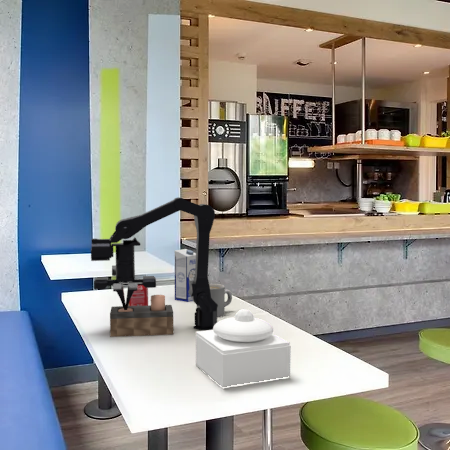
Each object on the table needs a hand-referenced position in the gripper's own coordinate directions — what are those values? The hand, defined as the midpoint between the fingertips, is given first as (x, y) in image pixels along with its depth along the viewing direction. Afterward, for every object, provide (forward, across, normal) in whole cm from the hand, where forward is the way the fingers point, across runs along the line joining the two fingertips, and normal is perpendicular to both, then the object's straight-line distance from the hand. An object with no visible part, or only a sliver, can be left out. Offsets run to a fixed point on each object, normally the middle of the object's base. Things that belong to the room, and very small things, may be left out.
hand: (125, 309), depth 169 cm
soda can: (+7, -4, -19) cm, 21 cm away
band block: (+7, -5, 0) cm, 9 cm away
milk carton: (+7, -23, -45) cm, 51 cm away
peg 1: (+7, 0, 0) cm, 7 cm away
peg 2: (+3, -10, 0) cm, 10 cm away
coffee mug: (+7, -31, -20) cm, 37 cm away
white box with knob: (+7, -29, +40) cm, 50 cm away
